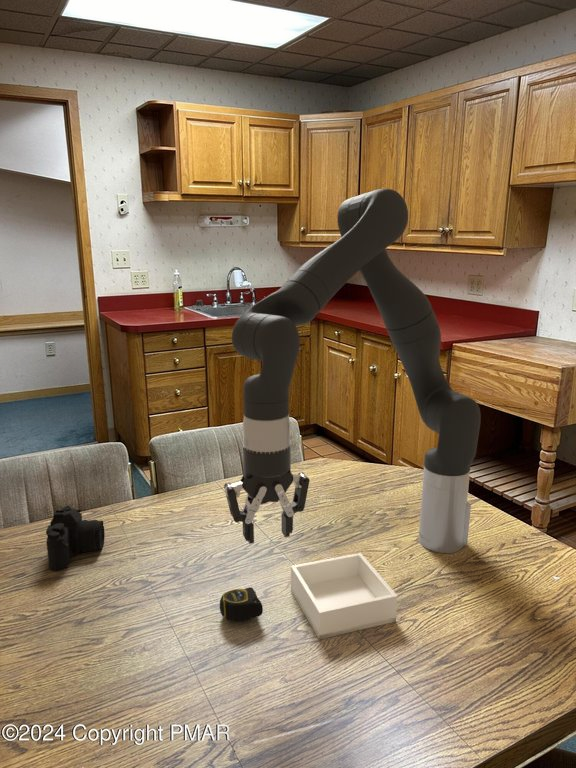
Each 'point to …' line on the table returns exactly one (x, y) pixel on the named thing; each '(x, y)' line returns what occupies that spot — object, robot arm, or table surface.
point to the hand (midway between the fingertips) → (267, 537)
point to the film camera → (71, 537)
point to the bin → (342, 595)
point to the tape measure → (240, 605)
